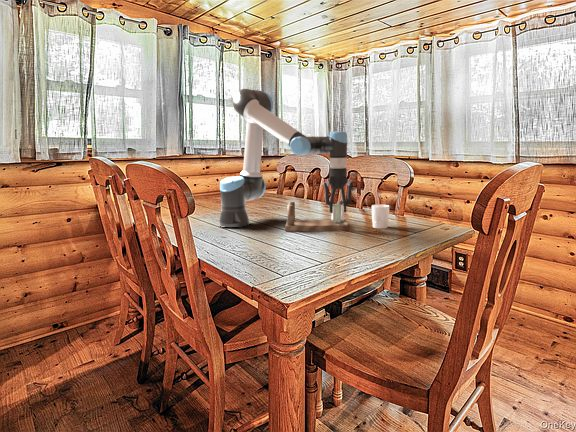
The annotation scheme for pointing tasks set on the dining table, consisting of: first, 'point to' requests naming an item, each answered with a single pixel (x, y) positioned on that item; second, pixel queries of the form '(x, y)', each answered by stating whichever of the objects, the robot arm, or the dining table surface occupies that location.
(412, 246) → the dining table surface
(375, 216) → the white cup
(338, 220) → the hinged leg
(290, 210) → the wooden peg stand
